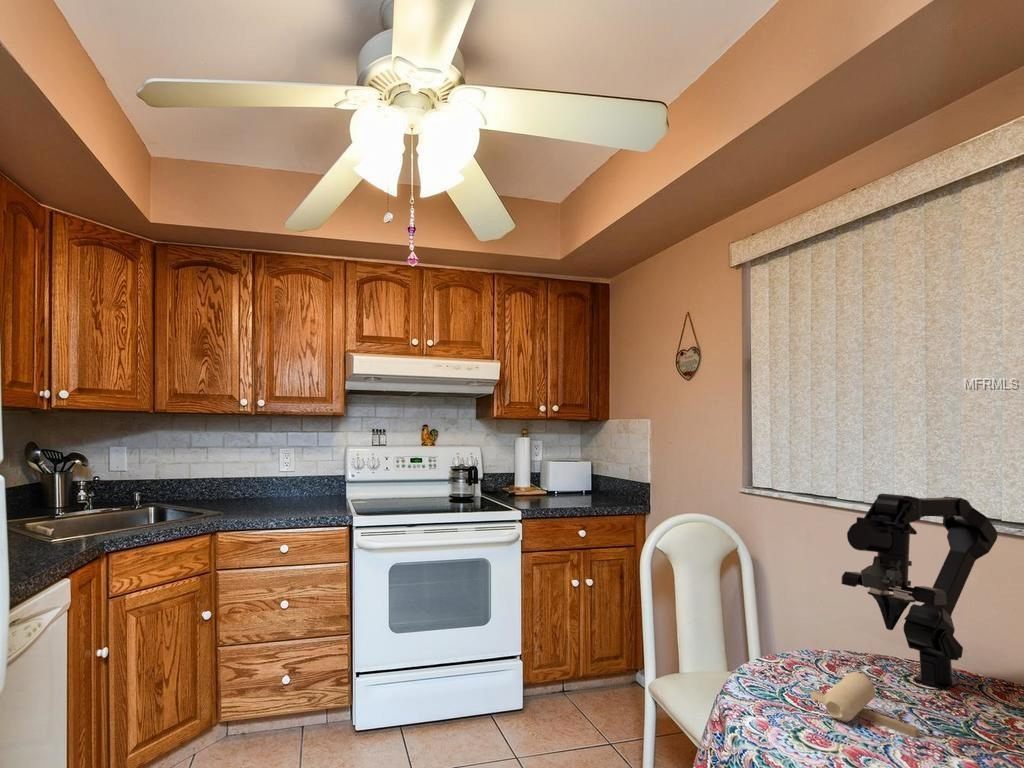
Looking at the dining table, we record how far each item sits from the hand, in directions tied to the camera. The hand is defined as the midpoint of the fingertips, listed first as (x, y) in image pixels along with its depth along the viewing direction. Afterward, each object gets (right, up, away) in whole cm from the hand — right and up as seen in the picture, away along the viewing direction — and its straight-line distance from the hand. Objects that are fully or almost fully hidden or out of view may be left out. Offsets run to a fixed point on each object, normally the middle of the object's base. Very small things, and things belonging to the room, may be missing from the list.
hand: (889, 629), depth 132 cm
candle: (-11, -7, -9) cm, 16 cm away
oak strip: (-12, -12, -12) cm, 21 cm away
